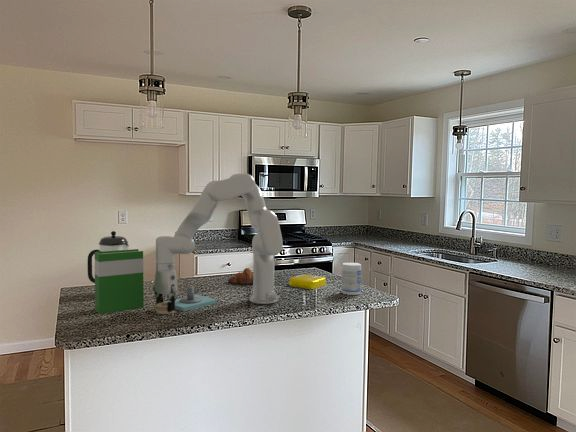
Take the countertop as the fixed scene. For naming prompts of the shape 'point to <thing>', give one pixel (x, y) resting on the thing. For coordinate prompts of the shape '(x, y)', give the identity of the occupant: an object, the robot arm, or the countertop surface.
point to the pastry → (242, 277)
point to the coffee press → (107, 249)
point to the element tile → (307, 281)
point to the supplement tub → (351, 278)
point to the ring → (162, 308)
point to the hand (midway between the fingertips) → (165, 309)
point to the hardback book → (118, 280)
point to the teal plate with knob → (192, 301)
